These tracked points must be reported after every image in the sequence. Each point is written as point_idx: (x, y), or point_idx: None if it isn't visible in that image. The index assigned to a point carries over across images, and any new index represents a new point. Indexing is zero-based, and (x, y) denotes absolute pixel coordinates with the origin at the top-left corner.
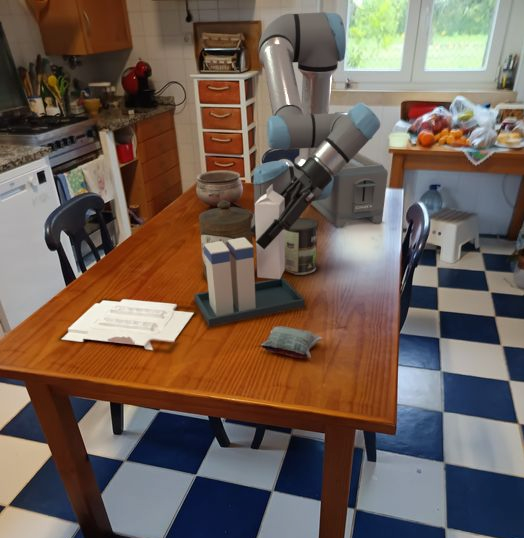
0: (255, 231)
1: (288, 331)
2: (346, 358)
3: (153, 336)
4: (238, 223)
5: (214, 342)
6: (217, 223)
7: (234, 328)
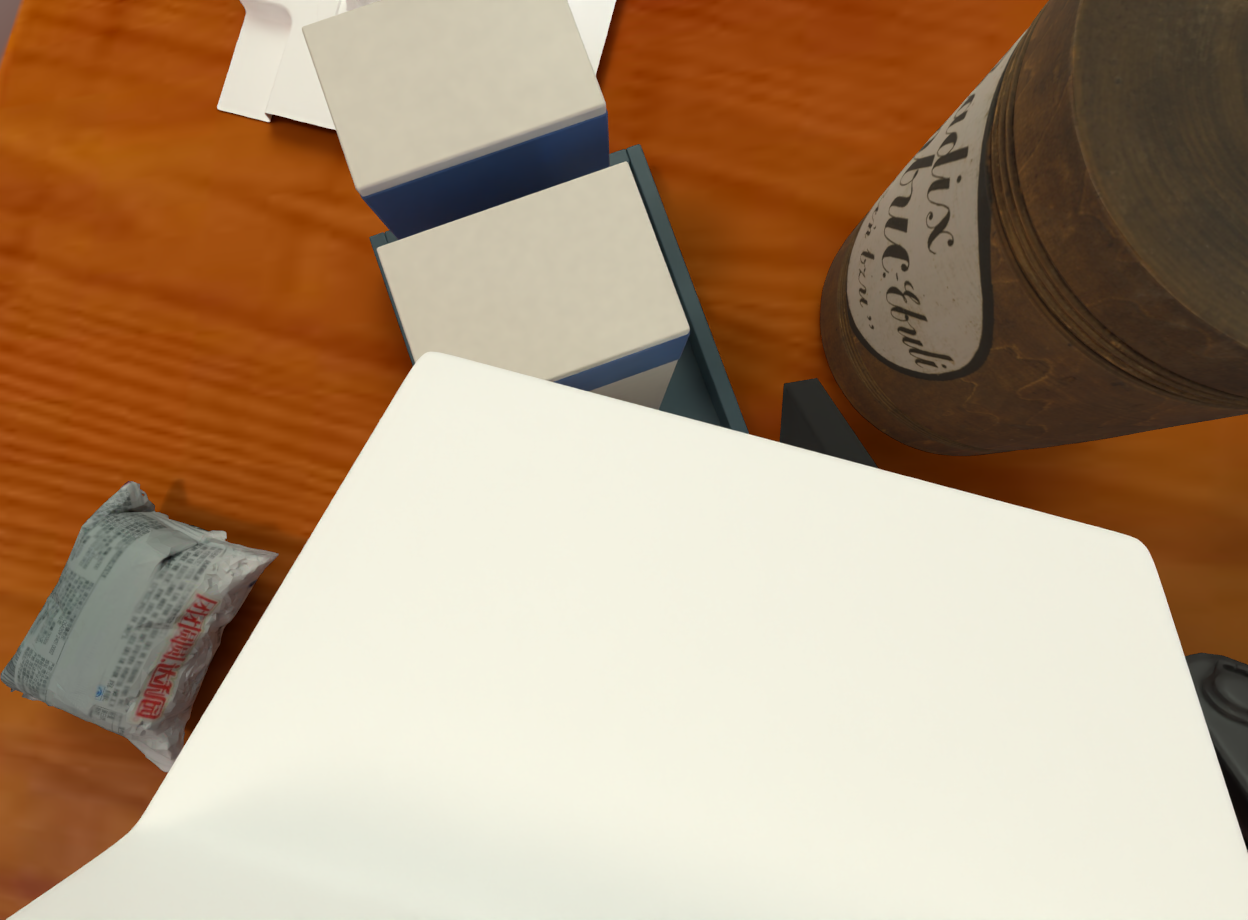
0: (790, 442)
1: (99, 622)
2: (90, 850)
3: (305, 21)
4: (1114, 256)
5: (272, 287)
6: (1086, 23)
7: (381, 368)
